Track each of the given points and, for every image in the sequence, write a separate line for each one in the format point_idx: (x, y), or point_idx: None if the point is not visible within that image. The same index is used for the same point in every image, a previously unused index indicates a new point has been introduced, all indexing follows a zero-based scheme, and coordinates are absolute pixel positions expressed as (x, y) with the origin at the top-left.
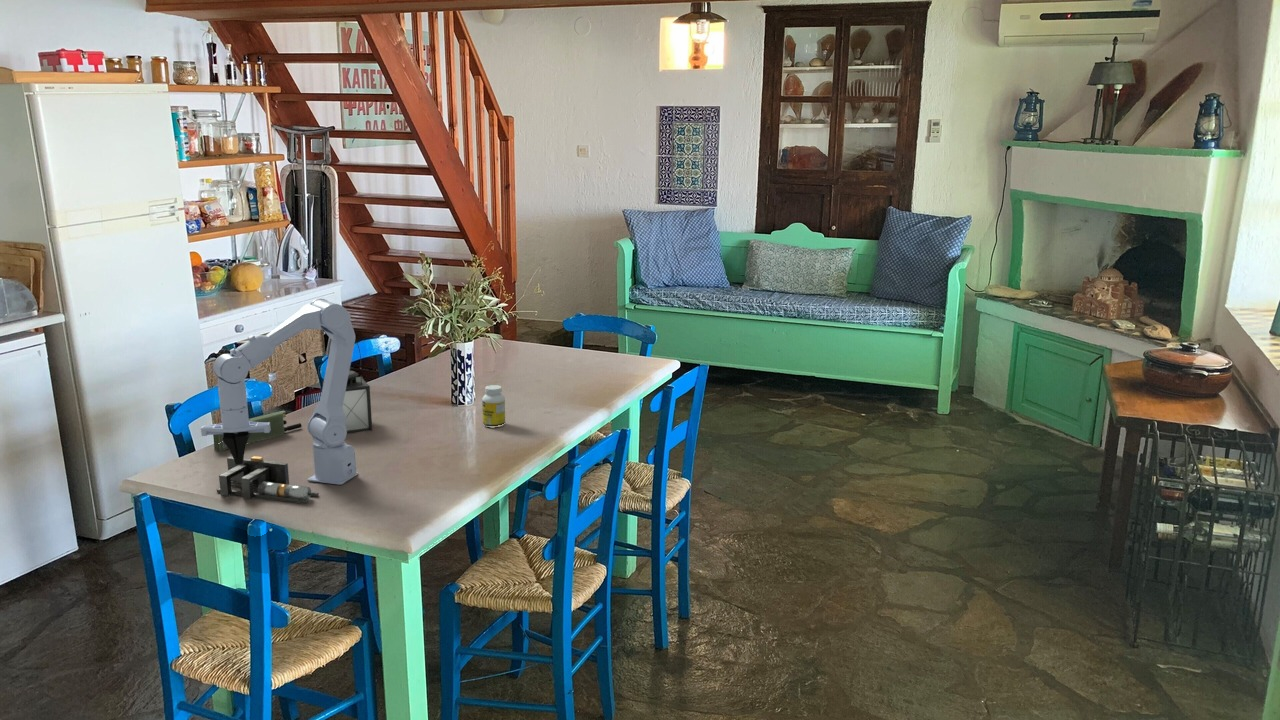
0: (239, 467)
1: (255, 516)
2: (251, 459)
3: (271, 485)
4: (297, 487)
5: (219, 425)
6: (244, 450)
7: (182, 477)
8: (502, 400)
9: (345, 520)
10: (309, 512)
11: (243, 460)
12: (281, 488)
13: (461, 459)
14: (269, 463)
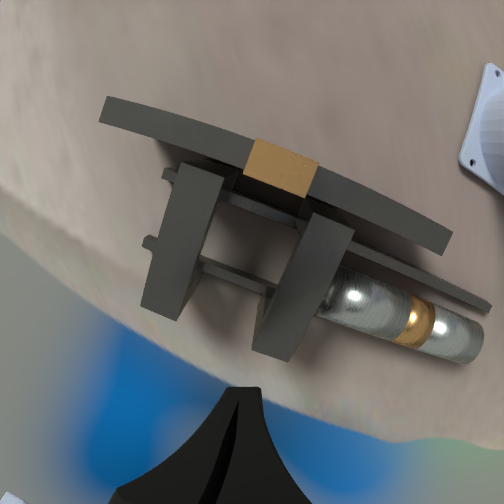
0: (194, 205)
1: (328, 421)
2: (248, 174)
3: (372, 329)
4: (455, 353)
5: None
6: (266, 430)
7: (13, 107)
8: None
9: (500, 418)
10: (452, 397)
11: (260, 392)
12: (406, 345)
13: None
14: (364, 218)
